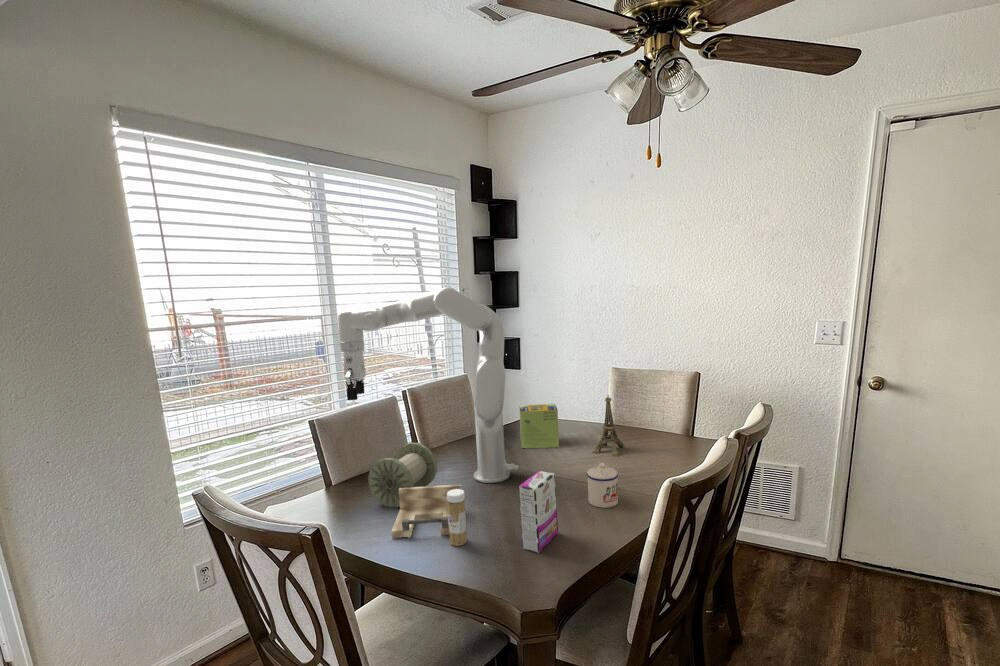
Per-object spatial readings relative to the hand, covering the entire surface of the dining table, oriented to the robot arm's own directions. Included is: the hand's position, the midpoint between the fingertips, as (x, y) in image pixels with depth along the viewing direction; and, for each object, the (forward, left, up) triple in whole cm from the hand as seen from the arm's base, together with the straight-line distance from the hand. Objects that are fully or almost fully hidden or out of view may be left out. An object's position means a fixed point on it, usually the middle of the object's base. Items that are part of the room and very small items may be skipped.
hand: (356, 396), depth 164 cm
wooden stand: (-26, +31, -31) cm, 51 cm away
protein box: (-64, -33, -31) cm, 79 cm away
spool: (-16, +11, -31) cm, 37 cm away
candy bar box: (-56, +44, -31) cm, 78 cm away
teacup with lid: (-78, +23, -31) cm, 87 cm away
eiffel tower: (-90, -20, -31) cm, 98 cm away
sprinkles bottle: (-35, +42, -31) cm, 63 cm away
